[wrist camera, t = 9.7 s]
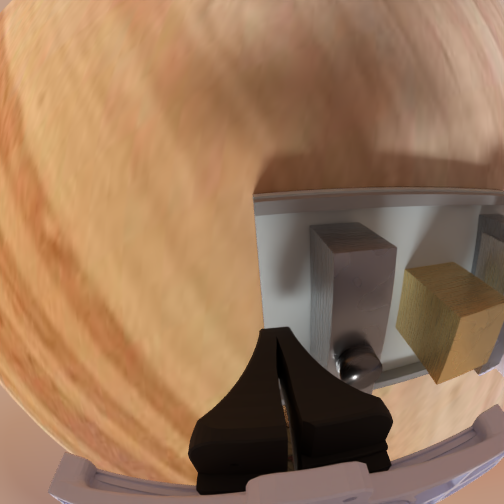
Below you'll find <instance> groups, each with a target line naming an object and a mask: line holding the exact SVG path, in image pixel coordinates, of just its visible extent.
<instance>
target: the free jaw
mask: <svg viewBox="0 0 504 504" xmlns="http://www.w3.org/2000/svg"><path fill="white" fill-rule="evenodd" d="M309 231H310V282H311V302H310V353H309V354H310V355H311V356H312V357H313V358H314V359H315V360H316V361H317V362H318V363H319V364H320V365H321V366H323V367H324V368H325V369H326V370H327V371H329V372H330V373H331V374H333V375H334V376H336V377H337V378H338V379H340V380H342V381H343V382H345V383H347V384H348V385H350V386H352V387H354V388H356V389H358V390H360V391H363V392H365V393H368V394H370V395H371V394H372V391H373V387H374V383H375V382H376V381H377V380H378V378H379V377H380V375H381V373H382V370H383V367H382V364H381V362H380V359H381V355H382V350H383V346H384V341H385V336H386V331H387V325H388V320H389V314H390V307H391V301H392V294H393V286H394V278H395V270H396V268H395V267H396V257H397V247H396V246H394V245H393V244H392V243H390V242H389V241H387V240H386V239H384V238H383V237H381V236H380V235H378V234H376V233H375V232H373V231H372V230H370V229H369V228H367V227H366V226H364V225H363V224H361V223H359V222H349V223H335V224H322V225H309Z"/></svg>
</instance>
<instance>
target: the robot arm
mask: <svg viewBox="0 0 504 504" xmlns="http://www.w3.org/2000/svg"><path fill="white" fill-rule="evenodd" d="M494 368H496V369H497V370H498V371H499V372H500V374H501V375H502V376H503V377H504V354H503V356H502V359H501V361H500V363H499V364H498V365H496V366H495V367H493V368H491V369H489V370H487V371H485V372H483V373H481V374H479V376H481V375H483V374H485V373H487V372H489V371H491V370H493V369H494ZM279 381H280V385H281V390H282V394H283V398H284V402H285V406H286V410H287V415H288V420H289V427H290V436H291V444H292V453H293V462H294V471H291V472H287V471H288V435H287V427H286V422H285V417H284V411H283V406H282V400H281V395H280V388H279ZM392 424H393V419H392V416H391V414H390V412H389V410H388V409H387V407H386V406H385V404H384V403H383V401H382V400H381V398H379V397H376V396H373V395H370V394H368V393H365V392H363V391H360V390H358V389H356V388H354V387H352V386H350V385H348V384H347V383H345V382H343V381H342V380H340V379H338V378H337V377H336V376H334V375H333V374H331V373H330V372H329V371H327V370H326V369H325V368H324V367H323V366H321V365H320V364H319V363H318V362H317V361H316V360H315V359H314V358H313V357H312V356H311V355H310V354H309V353H308V352H307V350H306V349H305V348H304V347H303V346H302V345H301V343H300V342H299V341H298V339H297V338H296V337H295V335H294V334H293V332H292V330H291V329H290V328H289V327H288V326H286V327H276V328H266V329H261V330H260V331H259V338H258V342H257V345H256V348H255V350H254V352H253V355H252V357H251V359H250V361H249V363H248V365H247V367H246V369H245V371H244V372H243V374H242V375H241V377H240V378H239V380H238V381H237V383H236V384H235V385H234V387H233V388H232V389H231V390H230V392H229V393H228V394H227V395H226V396H225V397H224V398H223V399H222V400H221V401H220V402H219V403H218V404H217V405H216V406H215V407H214V408H213V409H212V410H211V411H209V412H208V413H207V414H205V415H204V416H203V417H202V418H200V419H199V420H198V421H197V423H196V425H195V428H194V430H193V433H192V436H191V439H190V444H189V451H188V456H189V459H190V460H191V462H192V464H193V465H194V467H195V469H196V470H197V472H198V476H197V485H196V486H194V485H182V484H173V483H165V482H158V481H151V480H145V479H140V478H135V477H130V476H125V475H120V474H116V473H112V472H108V471H104V470H101V469H97V468H96V467H95V465H94V464H93V463H92V462H90V461H89V460H87V459H85V458H83V457H80V456H77V455H74V454H71V453H68V452H65V453H64V455H63V457H62V459H61V461H60V464H59V466H58V468H57V471H56V473H55V475H54V477H53V480H52V482H51V485H50V487H49V490H48V493H49V494H50V495H51V496H53V497H54V498H56V499H57V500H58V501H60V502H61V503H63V504H436V503H438V502H439V501H441V500H443V499H445V498H446V497H448V496H450V495H451V494H453V493H455V492H456V491H458V490H460V489H461V488H463V487H465V486H466V485H468V484H469V483H471V482H472V481H474V480H476V479H477V478H478V477H480V476H482V475H483V474H485V473H486V472H487V471H489V470H490V469H492V468H493V467H494V466H495V465H496V464H497V463H498V462H499V461H500V460H501V459H502V458H503V457H504V412H503V411H502V409H501V408H500V406H499V405H498V404H496V405H494V406H493V407H491V408H490V409H488V410H486V411H484V412H483V413H482V414H480V415H479V416H478V417H477V418H476V420H475V421H474V423H473V425H472V426H471V427H469V428H467V429H465V430H463V431H461V432H460V433H458V434H456V435H454V436H452V437H450V438H448V439H445V440H443V441H441V442H439V443H437V444H435V445H432V446H430V447H428V448H425V449H423V450H420V451H418V452H415V453H413V454H410V455H407V456H405V457H402V458H399V459H396V460H393V461H390V459H389V456H388V454H387V451H386V450H387V449H388V445H387V443H386V438H387V435H388V433H389V431H390V429H391V427H392Z"/></svg>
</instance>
